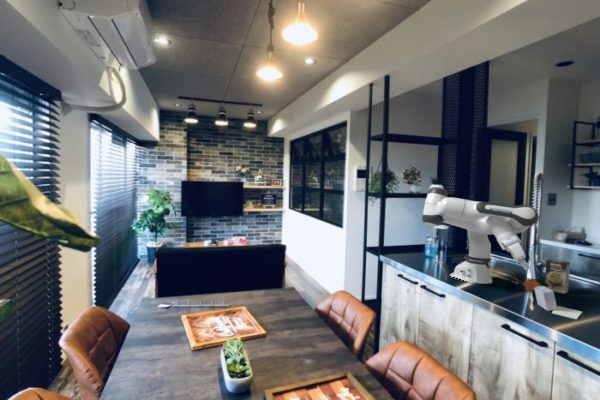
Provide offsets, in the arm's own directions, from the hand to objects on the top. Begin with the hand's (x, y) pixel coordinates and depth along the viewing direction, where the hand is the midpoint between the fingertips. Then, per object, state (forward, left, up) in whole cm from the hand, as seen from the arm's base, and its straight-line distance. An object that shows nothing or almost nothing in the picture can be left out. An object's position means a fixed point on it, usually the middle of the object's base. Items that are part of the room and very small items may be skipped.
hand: (527, 269), depth 155 cm
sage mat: (+15, +2, -17) cm, 23 cm away
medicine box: (+8, +2, -16) cm, 18 cm away
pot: (-4, +25, -17) cm, 31 cm away
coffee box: (+4, +37, -17) cm, 41 cm away
